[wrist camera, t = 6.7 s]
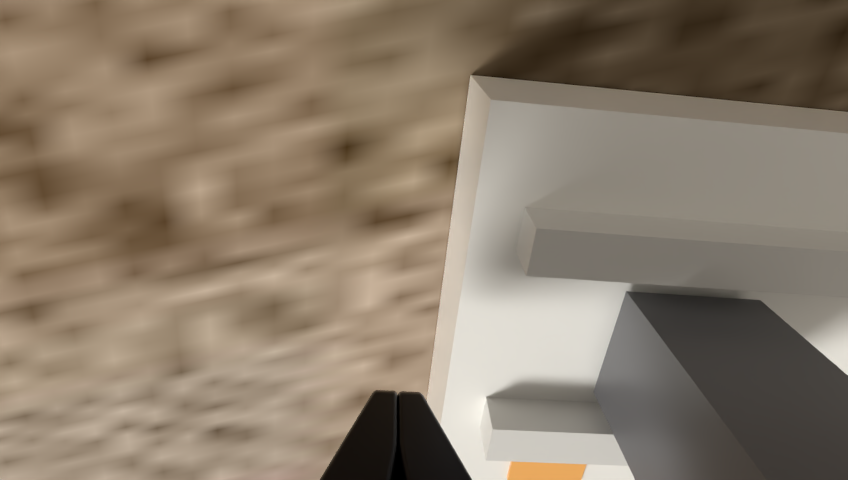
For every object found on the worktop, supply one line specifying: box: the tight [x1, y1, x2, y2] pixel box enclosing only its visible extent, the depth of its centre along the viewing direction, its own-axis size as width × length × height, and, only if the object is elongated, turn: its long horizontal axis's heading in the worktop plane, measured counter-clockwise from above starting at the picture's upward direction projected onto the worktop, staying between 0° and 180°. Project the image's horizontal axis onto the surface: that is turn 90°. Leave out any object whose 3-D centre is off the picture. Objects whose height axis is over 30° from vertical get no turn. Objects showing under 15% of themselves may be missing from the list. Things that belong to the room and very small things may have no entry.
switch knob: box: [593, 291, 848, 480], centre depth 9 cm, size 3×3×5 cm
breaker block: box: [427, 75, 848, 480], centre depth 13 cm, size 18×10×4 cm, turn 84°
